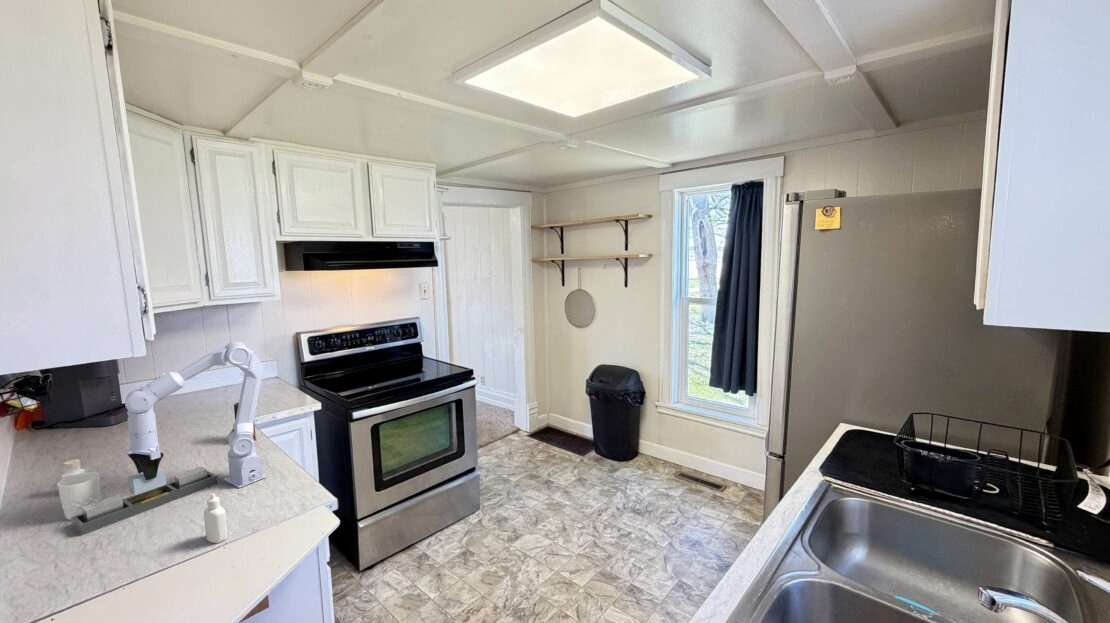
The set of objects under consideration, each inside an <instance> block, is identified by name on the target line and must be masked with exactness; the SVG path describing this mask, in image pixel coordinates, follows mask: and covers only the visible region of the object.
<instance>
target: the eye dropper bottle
mask: <svg viewBox="0 0 1110 623" xmlns="http://www.w3.org/2000/svg"><path fill="white" fill-rule="evenodd" d="M206 502H207V508H205V509H204V511H203V520H204V529H205V530H204V531H205V539H206V540H207V541H208V542H209V543H214V544H219V543H222V542H223V541H225V540H227V539H228V528H227V519H226V518H227V516H226V510H225V508H224V507H223V506H221V503H220V502H221V501H220V497H219V496H216V494H215V493H211V494H210V498H209V499H207V501H206Z"/></svg>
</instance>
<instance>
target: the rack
mask: <svg viewBox="0 0 1110 623" xmlns="http://www.w3.org/2000/svg"><path fill="white" fill-rule="evenodd" d="M215 484H216V485H218V484H219V483H218V475H215V474H214V473H212V472H211V471H209V470H208V469H207V468H204V467H203V466H198V467H196V468H194V469H189V470H187V471H184V472H181V473H179V474H175V475H173V481H172V482H167V483H166V485H163V486H160V487H158V488H155V489H152V490H149V491H146V492H143V493H140V494H137V495H134V494H133V495H132V496H131V495H130V496H129V497H126V498H122V497H121V496H120V495H118V494H116V495H113V496H111V497H108V498H105V499H102V500H100V501H99V502H96V503H93V504H90V505H87V506H84V507H82V512H83V514H80V515H77V516H74V517H71V520H70V521H71V525H72V526H71V527H72V528H73V529H74V531H76V532H77V533H78V534H79V535H81V536H83V535H84V536H85V535H87V534H89V533H92V532H94V531H96V530H99V529H102V528H105V527H107V526H110V525H113V524H115V523H119V522H121V521H123V519H124V520H126V519H128V518H131V517H134V516H136V515H139V514H141V513H144V512H147V511H150V510H152V509H155V508H157V507H160V506H162V505H166V504H168V503H171V502H173V500H174V501H176V500H178V499H181V498H184V497H186V495H187V496H189V495H191V494H194V493H195V494H196V493H197V492H199V491H202V490H204V489H207V487H208V488H210V487H213V486H216V485H215ZM212 485H213V486H212ZM170 501H171V502H170ZM165 503H166V504H165Z"/></svg>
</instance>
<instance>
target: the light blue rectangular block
mask: <svg viewBox="0 0 1110 623" xmlns="http://www.w3.org/2000/svg"><path fill="white" fill-rule="evenodd" d="M127 480H128V486H129V493H131V494H132V495H133V496H134V495H137V494H140V493H143V492H146V491H149V490H152V489H155V488H158V487H160V486H163V485H166V484H167V478H166V469H164V468H163V467H162V466H159V467H158V471H157V476H156V478H153V479H150V480H146V479H145V477H144V474H143V472H142V473H137V474H133V475H130V476H128V479H127Z"/></svg>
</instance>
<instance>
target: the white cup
mask: <svg viewBox="0 0 1110 623" xmlns="http://www.w3.org/2000/svg"><path fill="white" fill-rule="evenodd" d="M56 485H57V486H56V487H57V489H58V490H57V491H58V493H59V494H58V495H59V499H60V503H61V506H62V510H63V514H64V518H65V519H66V520H70V521H71V517H74V516H77V515H80V514H83V512H82V507H84V506H87V505H90V504H93V503H96V502H99V501H101V482H100V473H99V472H96V471H90V472H89V471H88V472H85V473H81V474H77V475H73V476H70V477H67V478H65V479H63V480H60V481H58V482H57V484H56Z"/></svg>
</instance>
